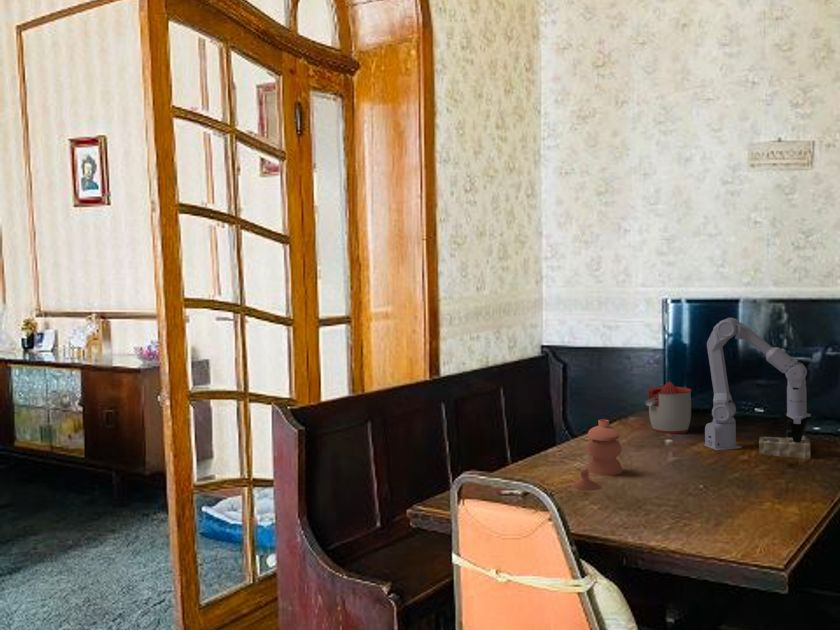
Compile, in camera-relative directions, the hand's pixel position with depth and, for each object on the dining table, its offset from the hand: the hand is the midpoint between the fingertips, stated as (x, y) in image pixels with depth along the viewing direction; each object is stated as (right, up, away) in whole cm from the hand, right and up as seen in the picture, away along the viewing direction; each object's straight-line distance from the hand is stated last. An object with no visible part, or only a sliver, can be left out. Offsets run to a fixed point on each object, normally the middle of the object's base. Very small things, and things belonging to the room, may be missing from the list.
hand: (797, 441), depth 254 cm
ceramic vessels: (-74, -10, -32) cm, 81 cm away
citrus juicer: (-30, -4, +39) cm, 49 cm away
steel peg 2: (0, -5, 0) cm, 5 cm away
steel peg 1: (-7, -5, +4) cm, 9 cm away
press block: (-3, -5, +2) cm, 6 cm away
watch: (+6, -1, +15) cm, 16 cm away
